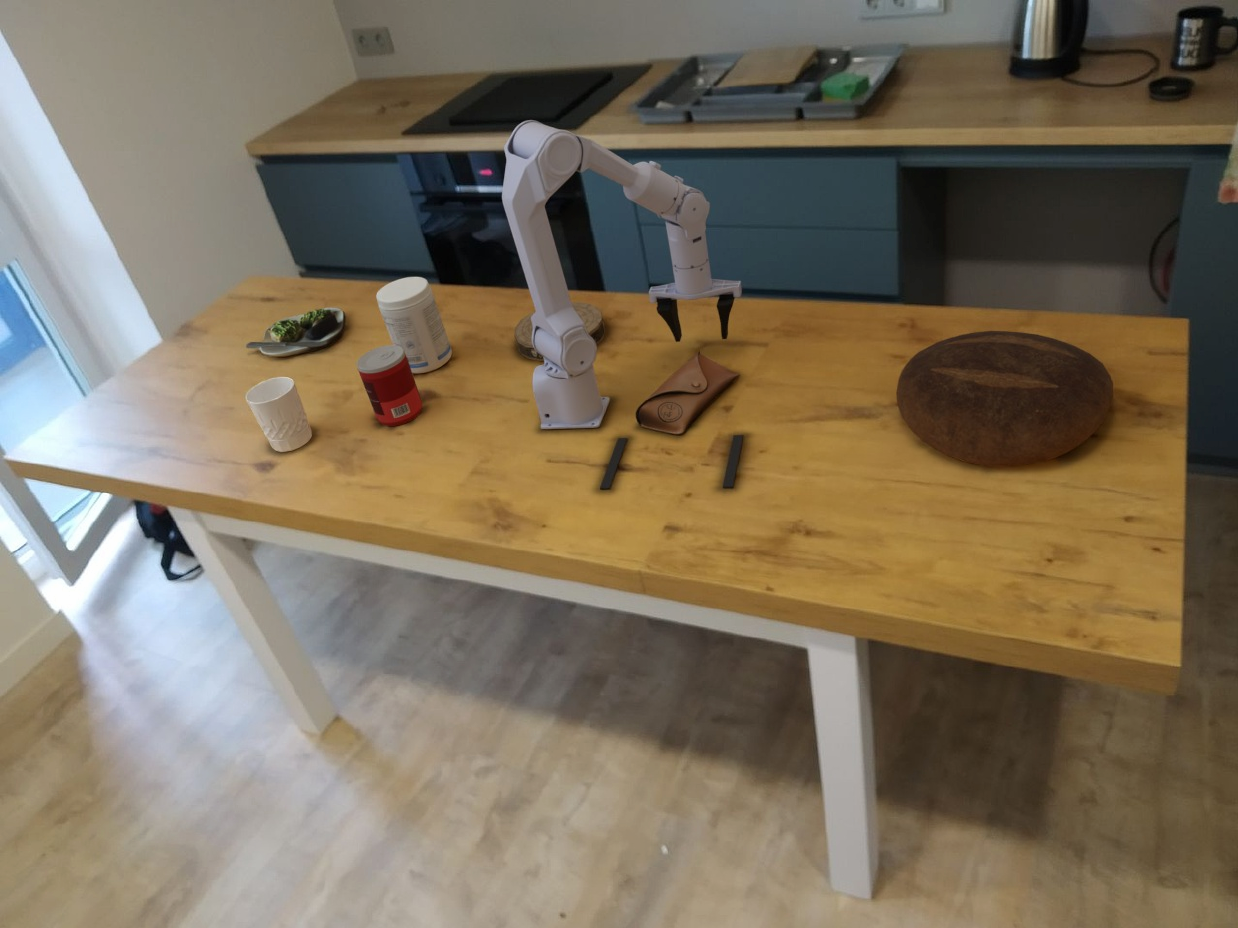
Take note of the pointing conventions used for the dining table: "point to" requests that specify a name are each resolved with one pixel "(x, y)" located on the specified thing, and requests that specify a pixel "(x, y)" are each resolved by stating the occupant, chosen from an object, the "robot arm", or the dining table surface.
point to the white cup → (280, 413)
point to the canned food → (390, 385)
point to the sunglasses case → (684, 395)
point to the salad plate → (302, 333)
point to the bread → (1004, 397)
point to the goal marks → (729, 473)
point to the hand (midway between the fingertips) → (701, 337)
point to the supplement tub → (415, 323)
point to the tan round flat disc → (586, 313)
